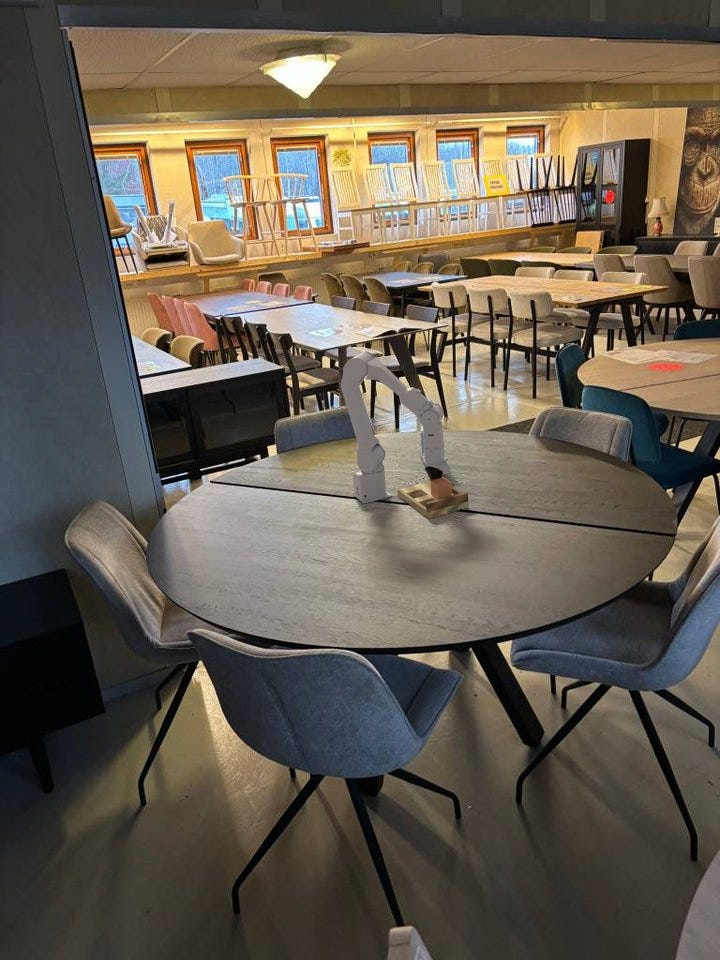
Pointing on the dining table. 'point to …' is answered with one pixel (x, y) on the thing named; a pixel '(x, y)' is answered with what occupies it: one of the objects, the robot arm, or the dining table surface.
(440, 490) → the block
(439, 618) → the dining table surface
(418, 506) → the trap board
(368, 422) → the robot arm
